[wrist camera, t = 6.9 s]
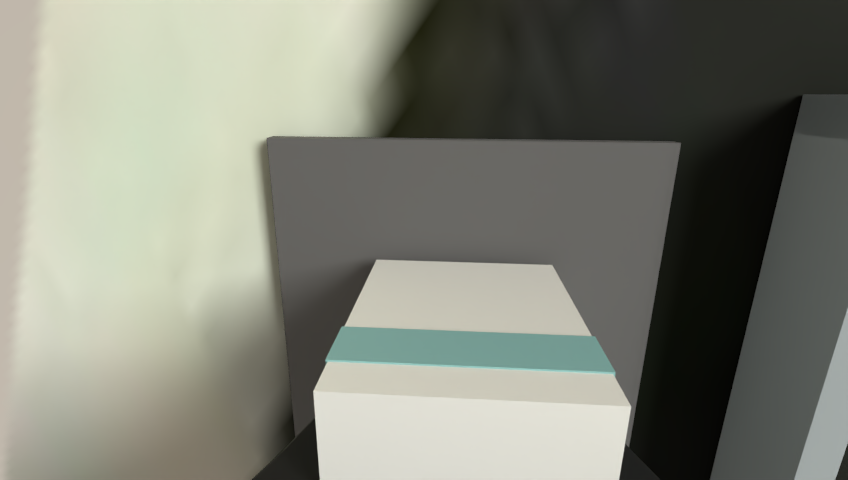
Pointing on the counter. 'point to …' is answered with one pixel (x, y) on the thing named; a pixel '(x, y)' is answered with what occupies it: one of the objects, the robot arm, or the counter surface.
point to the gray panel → (469, 229)
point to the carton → (468, 380)
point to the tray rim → (797, 319)
